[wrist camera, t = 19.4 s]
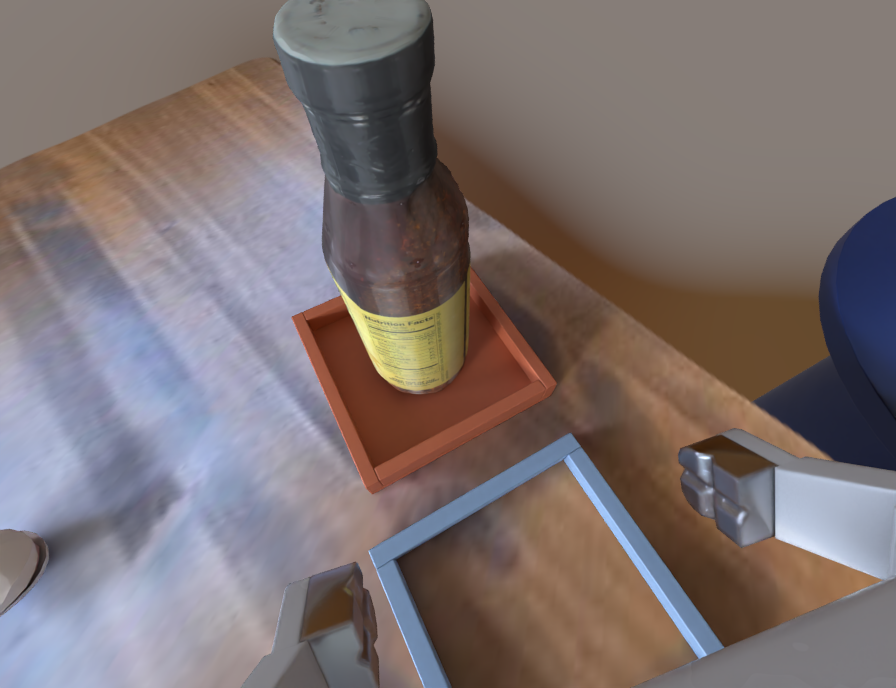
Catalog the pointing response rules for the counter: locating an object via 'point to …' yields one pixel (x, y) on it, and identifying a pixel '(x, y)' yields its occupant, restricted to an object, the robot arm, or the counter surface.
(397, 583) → the blue frame
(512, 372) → the terracotta tray
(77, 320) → the counter surface
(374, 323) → the sauce bottle
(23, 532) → the clam shell
